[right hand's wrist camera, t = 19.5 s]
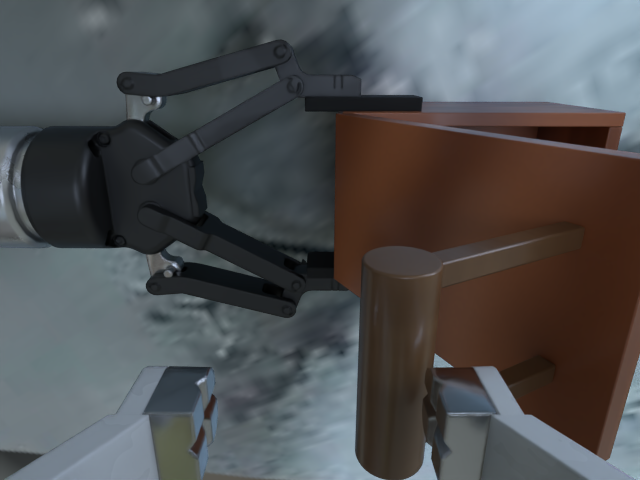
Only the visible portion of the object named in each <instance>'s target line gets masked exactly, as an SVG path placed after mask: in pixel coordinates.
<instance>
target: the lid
mask: <svg viewBox="0 0 640 480" xmlns="http://www.w3.org/2000/svg"><path fill="white" fill-rule="evenodd" d="M334 279H335V280H336V281H338V282H339V283H341V284H342V285H343V286H345V287H346V288H347V289H349V290H350V291H351V292H353V293H354V294H355V295H357V296H358V297H360V324H359V353H358V382H357V411H356V439H355V453H356V457H357V459H358V461H359V463H360V464H361V466H362V467H363V468H364V469H365V470H366V471H367V472H369V473H370V474H372V475H374V476H376V477H378V478H381V479H385V480H403V479H406V478H409V477H411V476H413V475H414V474H415V473H416V472H417V471H418V470H419V469H420V468H421V466H422V464H423V460H424V451H425V443H426V438H425V434H424V429H423V423H422V403H423V398H424V397H425V396H426V395H427V394H428V393H427V390H426V386H425V383H424V381H425V373H426V370H427V368H433V364H434V354H437V355H438V356H440V357H441V358H442V359H444V360H445V361H446V362H448V363H449V364H450V365H452V366H453V367H476V366H493V367H495V368H496V369H497V370H498V372H499V374H500V375H501V377H502V379H503V380H504V382H505V383H506V385H507V387H508V388H509V390H510V392H511V393H512V395H513V397H514V398H515V400H516V402H517V403H518V405H519V406H520V408H521V410H522V411H523V413H524V415H532V416H534V417H536V418H537V419H539V420H541V421H542V422H544V423H545V424H547V425H549V426H550V427H552V428H553V429H555V430H557V431H558V432H560V433H561V434H563V435H565V436H566V437H568V438H569V439H571V440H573V441H574V442H576V443H578V444H579V445H581V446H582V447H584V448H586V449H587V450H589V451H590V452H592V453H594V454H595V455H597V456H598V457H600V458H602V459H603V460H605V461H606V460H607V459H609V458H610V455H611V452H612V448H613V445H614V441H615V438H616V434H617V431H618V427H619V424H620V420H621V417H622V413H623V410H624V406H625V403H626V399H627V396H628V393H629V389H630V386H631V382H632V379H633V375H634V372H635V368H636V365H637V361H638V358H639V354H640V153H632V152H625V151H618V150H611V149H604V148H597V147H589V146H582V145H575V144H568V143H561V142H554V141H547V140H539V139H532V138H525V137H518V136H511V135H504V134H496V133H489V132H482V131H475V130H468V129H461V128H454V127H446V126H439V125H432V124H425V123H418V122H411V121H403V120H396V119H389V118H382V117H375V116H368V115H361V114H353V113H341V114H336V144H335V230H334Z"/></svg>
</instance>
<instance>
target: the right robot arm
mask: <svg viewBox="0 0 640 480" xmlns="http://www.w3.org/2000/svg"><path fill="white" fill-rule="evenodd" d="M215 383H216V382H215V374H214V370H213V368H212V367H178V366H169V367H167V366H147V367H145V368H144V369H143V370H142V371H141V373H140V375H139V376H138V378H137V380H136V381H135V383H134V384H133V386H132V388H131V389H130V391H129V393H128V394H127V396H126V398H125V399H124V401H123V403H122V404H121V406H120V408H119V409H118V411H117V413H116V414H115V415H107V416H106V417H104V418H103V419H101V420H99V421H98V422H96V423H94V424H93V425H91V426H90V427H88V428H86V429H85V430H83V431H82V432H80V433H78V434H77V435H75V436H73V437H72V438H70V439H69V440H67V441H65V442H64V443H62V444H61V445H59V446H57V447H56V448H54V449H52V450H51V451H49V452H48V453H46V454H44V455H43V456H41V457H40V458H38V459H36V460H35V461H33V462H32V463H30V464H28V465H27V466H25V467H23V468H22V469H20V470H19V471H17V472H15V473H14V474H12V475H10V476H9V477H7V478H6V479H4V480H202V479H203V476H204V472H205V469H206V465H207V462H208V459H209V458H208V448H207V447H208V446H209V445H211V444H212V443H213V441H214V438H215V434H216V428H217V421H218V403H217V398H216V397H215V396H214V395H213V394H212V392H213V389H214V386H215ZM424 383H425V386H426V390H427V393H428V394H427V395H426V396H425V397H424V398H423V403H422V423H423V429H424V434H425V438H426V442H427V443H428V444H429V445H431V446H432V456H431V459H432V462H433V466H434V469H435V473H436V476H437V479H438V480H635V479H634V478H632V477H631V476H629V475H627V474H626V473H624V472H623V471H621V470H619V469H618V468H616V467H615V466H613V465H611V464H610V463H608V462H606V461H605V460H603V459H602V458H600V457H598V456H597V455H595V454H594V453H592V452H590V451H589V450H587V449H586V448H584V447H582V446H581V445H579V444H578V443H576V442H574V441H573V440H571V439H569V438H568V437H566V436H565V435H563V434H561V433H560V432H558V431H557V430H555V429H553V428H552V427H550V426H549V425H547V424H545V423H544V422H542V421H541V420H539V419H537V418H536V417H534V416H532V415H524V413H523V411H522V410H521V408H520V406H519V405H518V403H517V402H516V400H515V398H514V397H513V395H512V393H511V392H510V390H509V388H508V387H507V385H506V383H505V382H504V380H503V379H502V377H501V375H500V374H499V372H498V370H497V369H496V368H495V367H493V366H476V367H450V368H427V370H426V373H425V381H424Z"/></svg>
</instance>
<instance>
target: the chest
mask: <svg viewBox="0 0 640 480" xmlns="http://www.w3.org/2000/svg"><path fill="white" fill-rule="evenodd" d="M341 113H353V114H361V115H368V116H375V117H382V118H389V119H396V120H403V121H411V122H418V123H425V124H432V125H439V126H446V127H454V128H461V129H468V130H475V131H482V132H489V133H496V134H504V135H511V136H518V137H525V138H532V139H539V140H547V141H554V142H561V143H568V144H575V145H582V146H589V147H597V148H604V149H611V150H617V149H618V145H619V140H620V136H621V131H622V126H623V123H624V119H625V115H626V113H623V112H616V111H609V110H602V109H594V108H587V107H580V106H573V105H565V104H558V103H550V102H422V111H338V114H341Z"/></svg>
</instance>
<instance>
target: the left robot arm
mask: <svg viewBox="0 0 640 480" xmlns="http://www.w3.org/2000/svg"><path fill="white" fill-rule="evenodd" d="M274 67H275V68H276V71H277V74H278V77H279V79H280V81H279V82H277V83H276V84H274V85H272V86H271V87H269V88H267V89H265V90H264V91H262V92H260V93H259V94H257V95H255V96H253V97H252V98H250V99H248V100H247V101H245V102H243V103H242V104H240V105H238V106H236V107H235V108H233V109H231V110H230V111H228V112H226V113H225V114H223V115H221V116H219V117H218V118H216V119H214V120H213V121H211V122H209V123H208V124H206V125H204V126H202V127H201V128H199V129H197V130H196V131H194V132H192V133H190V134H188V135H187V136H185V137H183V138H181V139H180V140H178V139H177V138H175V137H174V136H172V135H171V134H170V133H168V132H167V131H165V130H164V129H162V128H161V127H159V126H158V125H156V124H155V123H153V122H152V121H150V120H149V117H150V114H151V112H152V111H154V110H157V109H161V108H163V107H164V106H165V104H166V101H167V96H171V95H178V94H183V93H187V92H191V91H194V90H197V89H201V88H204V87H208V86H211V85H215V84H218V83H222V82H225V81H229V80H232V79H236V78H239V77H243V76H246V75H250V74H253V73H257V72H260V71H264V70H267V69H271V68H274ZM117 86H118V88H119V89H120V91H121V92H123V93H124V94H126V110H127V120H126V121H124V122H122V123H121V124H119V125H117V126H52V127H48V128H45V129H43V128H40V127H37V126H0V248H48V247H50V246H54V247H57V248H119V247H127V248H131V249H134V250H137V251H139V252H141V253H143V254H146V257H147V262H148V266H149V270H150V274H151V278H150V279H149V280H148V281H147V283H146V289H147V291H148V292H149V293H151V294H153V295H166V294H179V293H183V294H188V295H192V296H196V297H200V298H204V299H209V300H213V301H217V302H221V303H225V304H230V305H234V306H238V307H242V308H246V309H251V310H255V311H259V312H263V313H267V314H272V315H276V316H280V317H284V318H290V317H292V316H293V315H294V314H295V313H296V308H297V305H298V303H299V300H300V298H301V296H302V294H303V293H305V292H307V291H311V290H336V291H337V290H339V291H347V290H349V289H347V288H346V287H345V286H343V285H342V284H341V283H339V282H338V281H336V280H335V279H334V252H308V258H307V263H306V261H305V260H304V259H303V260H302V262H299V261H297V260H295V259H293V258H291V257H289V256H287V255H285V254H283V253H281V252H279V251H278V250H276V249H274V248H272V247H270V246H268V245H266V244H264V243H262V242H260V241H258V240H256V239H254V238H252V237H250V236H248V235H246V234H244V233H242V232H240V231H238V230H236V229H234V228H232V227H230V226H228V225H226V224H224V223H222V222H221V221H220V219H219V218H218V217H216V216H214V215H212V214H210V213H208V212H206V211H205V210H206V209H207V200H206V195H205V192H204V189H203V186H202V181H203V176H204V166H203V161H200V159H199V157H198V154H200V153H201V152H203V151H205V150H206V149H208V148H210V147H212V146H213V145H215V144H217V143H219V142H220V141H222V140H224V139H226V138H227V137H229V136H231V135H233V134H234V133H236V132H238V131H239V130H241V129H243V128H245V127H246V126H248V125H250V124H252V123H253V122H255V121H257V120H259V119H260V118H262V117H264V116H266V115H267V114H269V113H271V112H272V111H274V110H276V109H278V108H279V107H281V106H283V105H285V104H286V103H288V102H290V101H292V100H293V99H295V98H305V111H422V99H423V98H422V97H418V96H414V95H361V79H360V78H358V77H355V76H353V75H308V74H306V73H304V72H303V71H302V70H301V69H300V67H299V65H298V63H297V60H296V57H295V54H294V50H293V48H292V46H290V44H288V43H287V42H286V41H284V40H275V41H272V42H268V43H265V44H261V45H258V46H255V47H251V48H248V49H244V50H241V51H237V52H234V53H231V54H227V55H224V56H220V57H217V58H213V59H210V60H207V61H203V62H200V63H196V64H193V65H189V66H186V67H183V68H179V69H176V70H172V71H169V72H166V73H162V74H159V73H149V72H123V73H121V74H120V75H119V76H118V78H117ZM176 240H178V241H180V242H182V243H184V244H186V245H188V246H190V247H192V248H194V249H197V250H206V251H209V252H211V253H213V254H215V255H217V256H219V257H221V258H223V259H225V260H227V261H229V262H231V263H233V264H235V265H237V266H239V267H241V268H243V269H245V270H247V271H249V272H251V273H253V274H255V275H258V276H260V277H262V278H264V279H261V278H257V277H253V276H249V275H245V274H241V273H237V272H233V271H228V270H224V269H220V268H216V267H212V266H208V265H204V264H199V263H192V262H184V261H183V259H182V257H180V256H172V255H170V254H169V253H168V252H167V251H166V249H165V248H167V247H168V246H169V245H171V244H172V243H173V242H175V241H176ZM265 279H266V280H265Z"/></svg>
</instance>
